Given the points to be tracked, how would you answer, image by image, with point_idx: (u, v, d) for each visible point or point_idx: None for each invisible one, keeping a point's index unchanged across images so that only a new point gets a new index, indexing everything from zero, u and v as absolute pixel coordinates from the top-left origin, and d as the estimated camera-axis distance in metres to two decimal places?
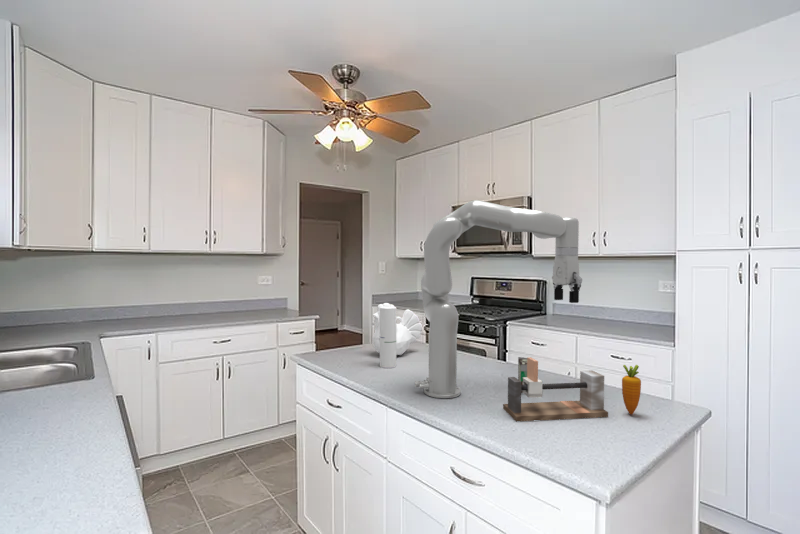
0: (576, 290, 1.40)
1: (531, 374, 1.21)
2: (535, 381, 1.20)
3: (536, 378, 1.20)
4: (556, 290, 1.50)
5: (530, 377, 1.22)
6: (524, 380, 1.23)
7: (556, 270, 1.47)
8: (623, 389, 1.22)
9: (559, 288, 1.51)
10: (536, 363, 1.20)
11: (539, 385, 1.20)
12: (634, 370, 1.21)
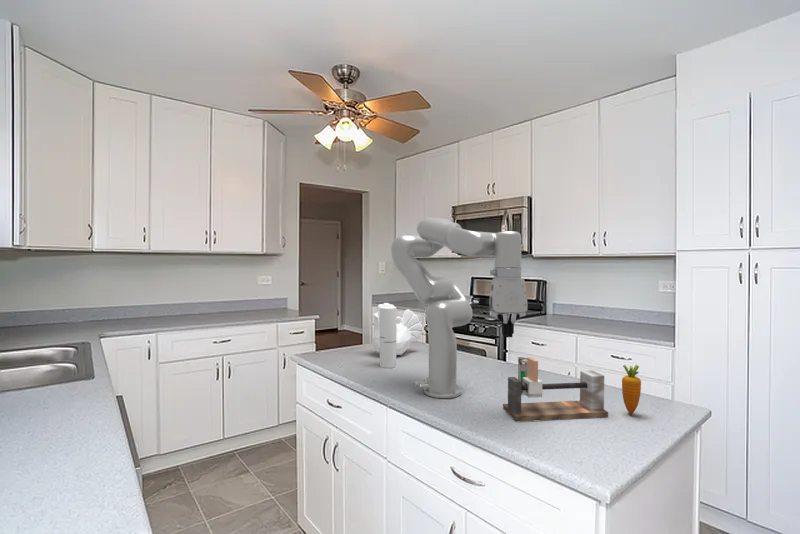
0: None
1: (531, 374, 1.21)
2: (535, 381, 1.20)
3: (536, 378, 1.20)
4: None
5: (530, 377, 1.22)
6: (524, 380, 1.23)
7: (505, 296, 1.17)
8: (623, 389, 1.22)
9: None
10: (536, 363, 1.20)
11: (539, 385, 1.20)
12: (634, 370, 1.21)
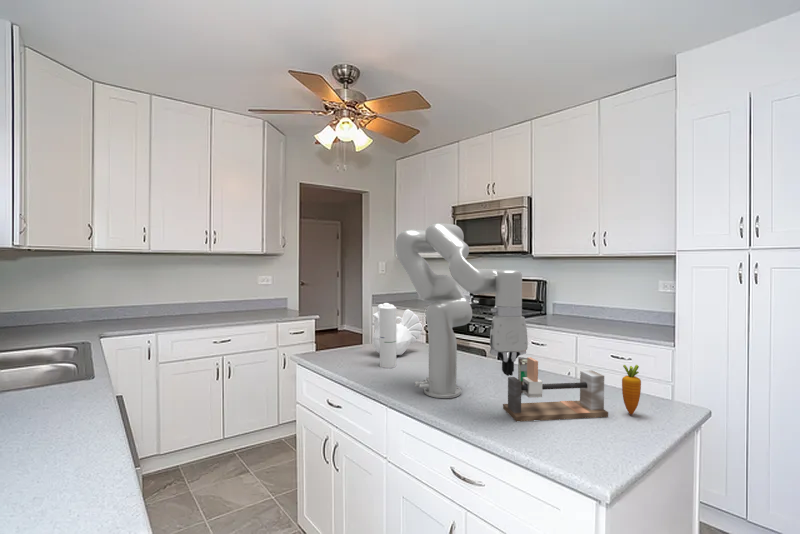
0: None
1: (531, 374, 1.21)
2: (535, 381, 1.20)
3: (536, 378, 1.20)
4: None
5: (530, 377, 1.22)
6: (524, 380, 1.23)
7: (505, 335, 1.18)
8: (623, 389, 1.22)
9: None
10: (536, 363, 1.20)
11: (539, 385, 1.20)
12: (634, 370, 1.21)
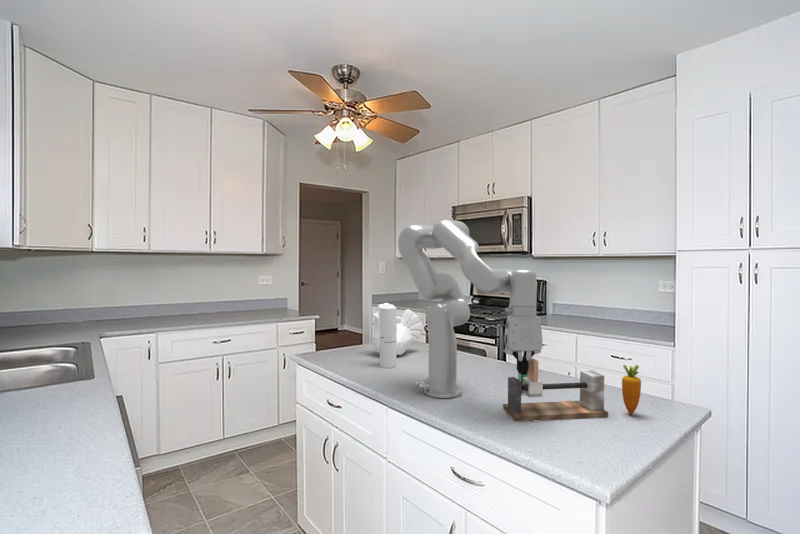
0: None
1: (531, 374, 1.21)
2: (535, 381, 1.20)
3: (536, 378, 1.20)
4: None
5: (530, 377, 1.22)
6: (524, 380, 1.23)
7: (520, 334, 1.18)
8: (623, 389, 1.22)
9: None
10: (536, 363, 1.20)
11: (539, 385, 1.20)
12: (634, 370, 1.21)
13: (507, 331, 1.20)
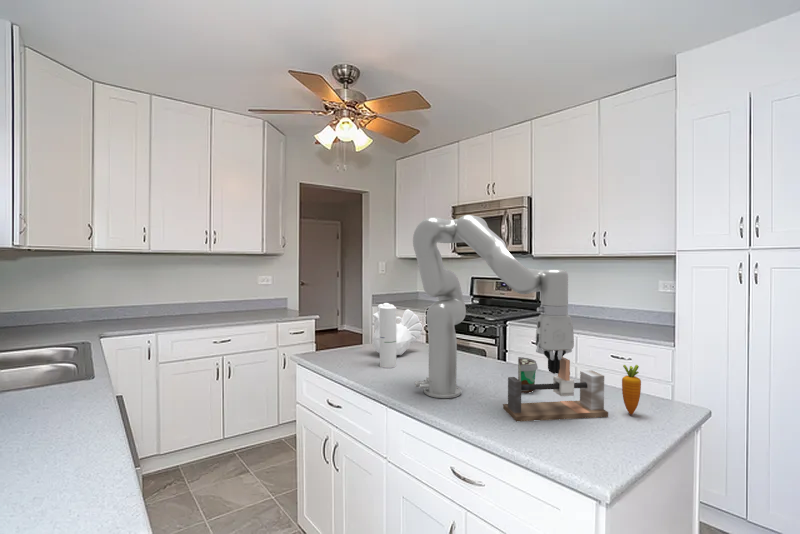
0: None
1: (562, 373, 1.23)
2: (567, 380, 1.21)
3: (568, 377, 1.21)
4: None
5: (561, 376, 1.23)
6: (555, 379, 1.24)
7: (552, 333, 1.20)
8: (623, 389, 1.22)
9: None
10: (568, 362, 1.21)
11: (571, 384, 1.21)
12: (634, 370, 1.21)
13: (539, 330, 1.21)
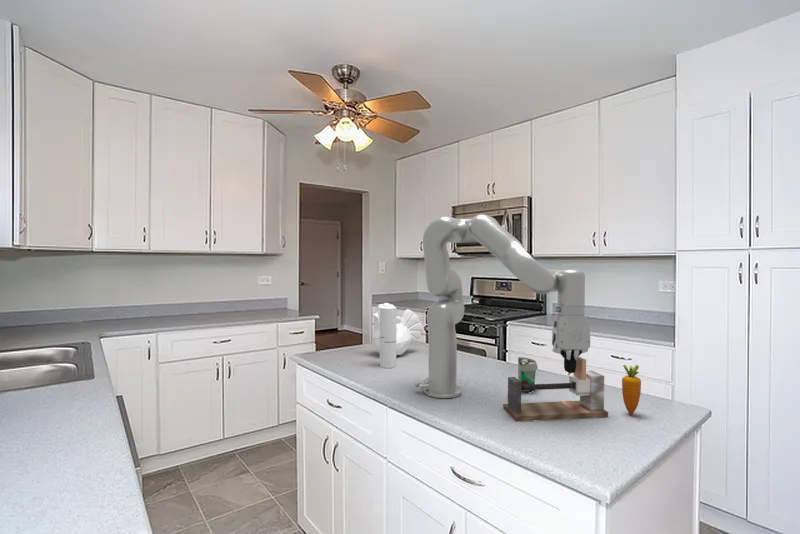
0: None
1: (579, 372, 1.23)
2: (583, 379, 1.22)
3: (584, 376, 1.22)
4: None
5: (577, 375, 1.24)
6: (571, 378, 1.25)
7: (569, 333, 1.20)
8: (623, 389, 1.22)
9: None
10: (584, 362, 1.22)
11: (587, 383, 1.22)
12: (634, 370, 1.21)
13: (555, 330, 1.22)
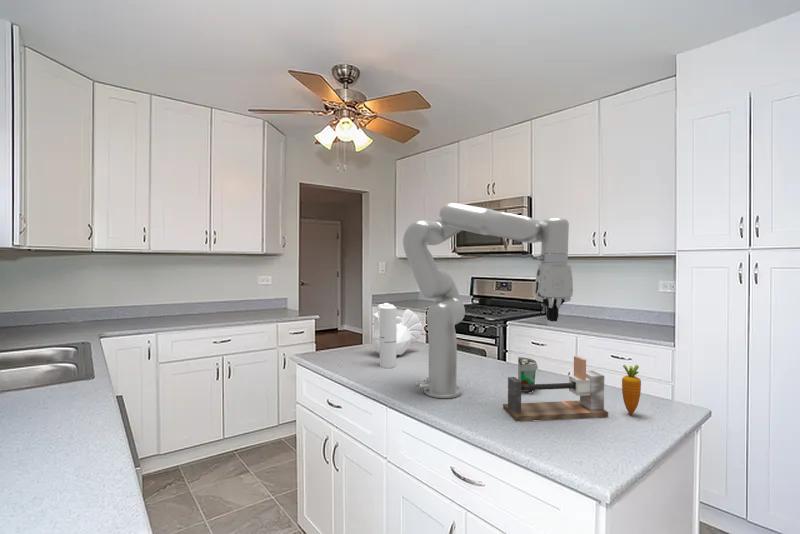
0: None
1: (579, 372, 1.23)
2: (583, 379, 1.22)
3: (584, 376, 1.22)
4: None
5: (577, 375, 1.24)
6: (571, 378, 1.25)
7: (552, 281, 1.21)
8: (623, 389, 1.22)
9: None
10: (584, 362, 1.22)
11: (587, 383, 1.22)
12: (634, 370, 1.21)
13: (538, 278, 1.22)
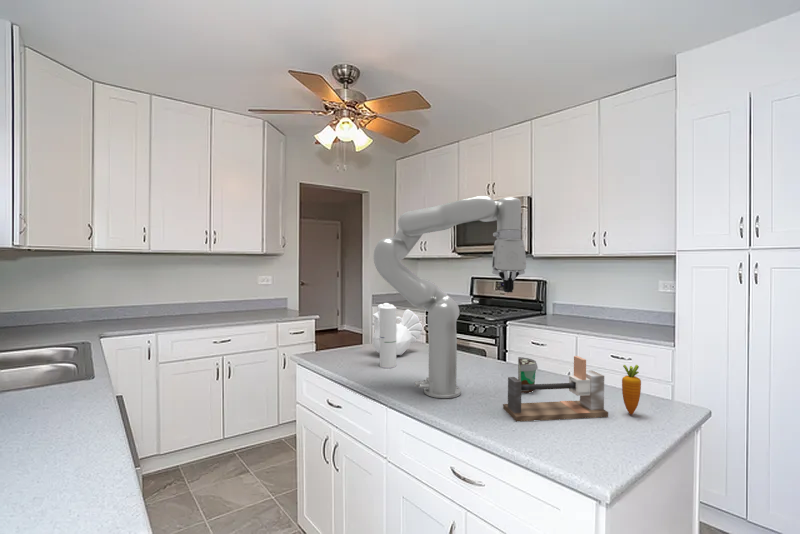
0: None
1: (579, 372, 1.23)
2: (583, 379, 1.22)
3: (584, 376, 1.22)
4: None
5: (577, 375, 1.24)
6: (571, 378, 1.25)
7: (506, 255, 1.32)
8: (623, 389, 1.22)
9: None
10: (584, 362, 1.22)
11: (587, 383, 1.22)
12: (634, 370, 1.21)
13: (494, 253, 1.34)
